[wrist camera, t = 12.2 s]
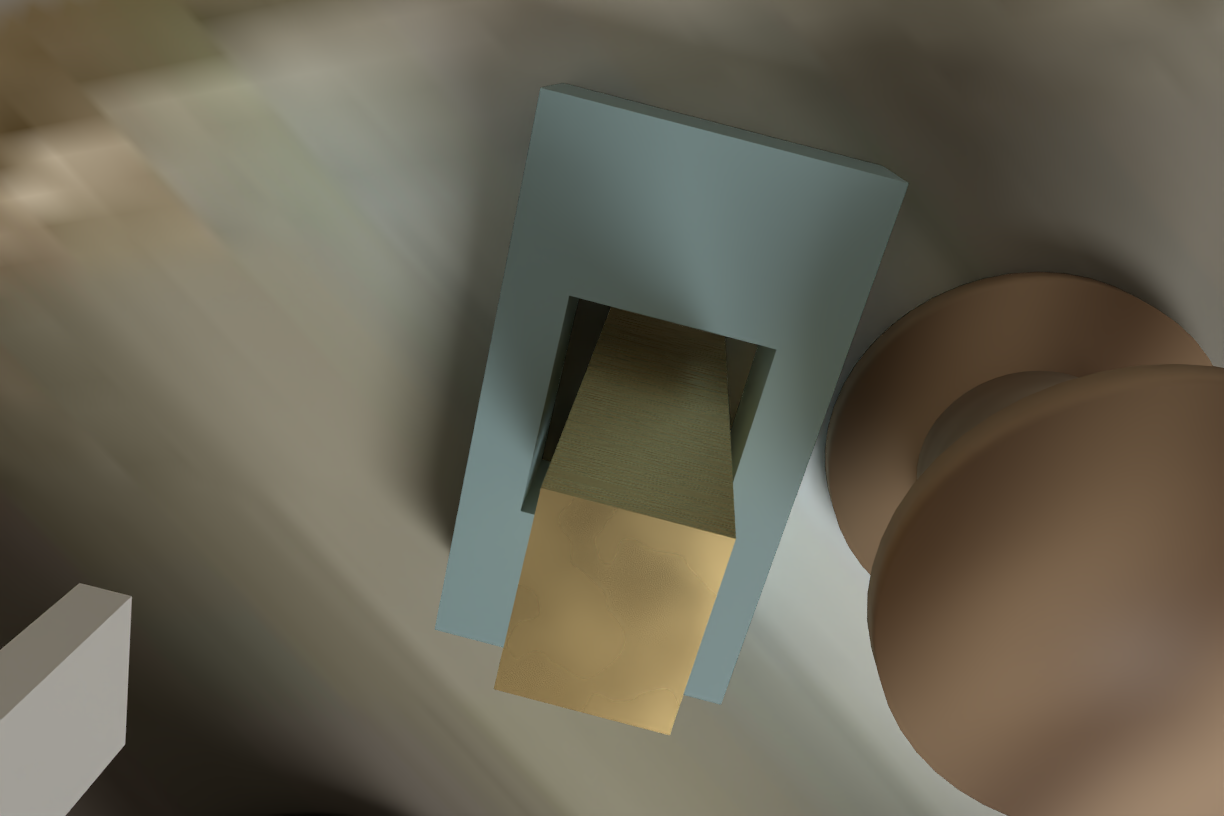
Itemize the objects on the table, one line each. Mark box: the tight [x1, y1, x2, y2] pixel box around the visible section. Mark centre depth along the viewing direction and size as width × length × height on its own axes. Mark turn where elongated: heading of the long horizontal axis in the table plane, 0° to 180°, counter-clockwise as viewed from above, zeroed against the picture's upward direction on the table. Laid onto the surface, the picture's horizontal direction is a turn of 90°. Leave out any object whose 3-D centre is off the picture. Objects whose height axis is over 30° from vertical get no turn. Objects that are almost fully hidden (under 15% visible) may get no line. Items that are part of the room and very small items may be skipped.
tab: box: [494, 307, 736, 735], centre depth 22 cm, size 4×4×12 cm
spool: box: [825, 272, 1224, 816], centre depth 23 cm, size 11×11×9 cm
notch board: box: [435, 83, 909, 704], centre depth 26 cm, size 16×9×4 cm, turn 167°
